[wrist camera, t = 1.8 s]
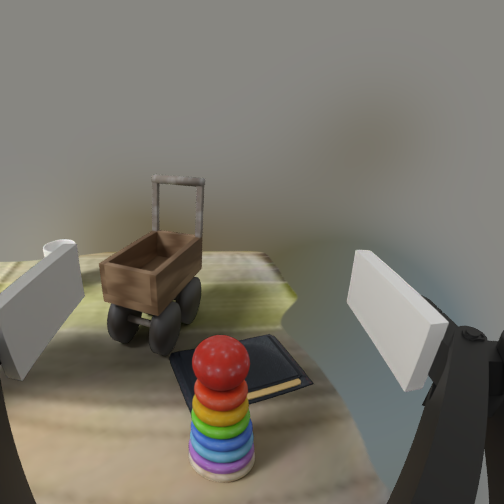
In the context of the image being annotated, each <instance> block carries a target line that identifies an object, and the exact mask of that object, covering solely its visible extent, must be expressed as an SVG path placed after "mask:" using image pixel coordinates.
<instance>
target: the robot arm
mask: <svg viewBox="0 0 504 504" xmlns="http://www.w3.org/2000/svg"><path fill="white" fill-rule="evenodd" d="M84 296H85V295H84V289H83V283H82V277H81V271H80V265H79V258H78V251H77V244H62V245H61V246H60V247H58V248H57V249H56V250H54V251H53V252H52V253H50V254H49V255H48V256H46V257H45V258H44V259H42V260H41V261H40V262H38V263H37V264H36V265H35V266H33V267H32V268H31V269H29V270H28V271H27V272H26V273H24V274H23V275H22V276H21V277H19V278H18V279H17V280H16V281H15V282H13V283H12V284H11V285H10V286H8V287H7V288H6V289H5V290H4V291H3V292H1V293H0V365H2V367H3V369H4V371H5V374H6V376H7V377H9V378H12V379H16V380H19V381H23V379H24V378H25V376H26V375H27V373H28V372H29V370H30V369H31V367H32V366H33V364H34V363H35V362H36V360H37V359H38V357H39V356H40V354H41V353H42V352H43V350H44V349H45V347H46V346H47V345H48V343H49V342H50V341H51V339H52V338H53V337H54V335H55V334H56V333H57V331H58V330H59V329H60V327H61V326H62V325H63V323H64V322H65V321H66V319H67V318H68V317H69V315H70V314H71V313H72V312H73V310H74V309H75V308H76V307H77V305H78V304H79V303H80V301H81V300H82V299H83V298H84ZM347 303H348V305H349V306H350V308H351V309H352V311H353V312H354V314H355V315H356V317H357V318H358V320H359V321H360V323H361V324H362V326H363V327H364V329H365V331H366V332H367V333H368V335H369V337H370V338H371V340H372V341H373V343H374V344H375V346H376V347H377V349H378V351H379V352H380V354H381V355H382V357H383V358H384V360H385V362H386V363H387V365H388V366H389V368H390V369H391V371H392V373H393V374H394V375H395V377H396V379H397V381H398V382H399V384H400V385H401V387H402V389H403V390H404V392H408V391H412V390H418V389H422V388H423V385H424V383H425V381H426V379H427V376H428V375H429V377H430V378H431V379H432V381H433V384H432V386H431V388H430V390H429V392H428V394H427V396H426V398H425V400H424V402H423V404H422V405H423V406H425V407H424V410H423V414H422V417H421V420H420V423H419V426H418V429H417V432H416V435H415V438H414V440H413V443H412V446H411V448H410V451H409V454H408V456H407V459H406V461H405V464H404V467H403V469H402V471H401V474H400V476H399V478H398V481H397V483H396V485H395V487H394V489H393V492H392V494H391V496H390V498H389V500H388V502H387V504H474V503H475V499H476V494H477V489H478V485H479V479H480V474H481V468H482V461H483V454H484V449H485V457H486V466H487V474H488V475H487V476H488V488H489V504H504V331H503V332H502V334H501V337H500V339H499V341H488V340H487V337H486V336H485V335H484V334H483V333H482V332H481V331H479V330H478V329H476V328H473V327H469V326H460V327H458V326H457V325H456V324H455V323H454V322H453V321H452V320H451V319H450V318H449V317H448V316H447V315H446V314H445V313H442V311H441V310H440V309H439V308H437V306H436V305H435V304H434V303H433V302H432V301H431V300H429V299H427V298H426V297H424V296H422V295H420V294H419V293H418V292H416V291H415V290H414V289H413V288H412V287H411V286H410V285H409V284H408V283H407V282H406V281H404V280H403V279H402V278H401V277H400V276H399V275H398V274H397V273H395V272H394V271H393V270H392V269H391V268H390V267H389V266H388V265H386V264H385V263H384V262H383V261H382V260H381V259H379V258H378V257H377V256H376V255H375V254H374V253H373V252H371V251H370V250H356V252H355V258H354V264H353V270H352V276H351V281H350V287H349V292H348V298H347ZM0 504H36V502H35V500H34V497H33V495H32V492H31V490H30V487H29V485H28V482H27V479H26V476H25V474H24V471H23V468H22V465H21V462H20V459H19V456H18V453H17V449H16V446H15V443H14V439H13V435H12V432H11V428H10V424H9V420H8V416H7V411H6V407H5V402H4V397H3V392H2V386H1V380H0Z"/></svg>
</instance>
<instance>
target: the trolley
mask: <svg viewBox="0 0 504 504" xmlns="http://www.w3.org/2000/svg"><path fill="white" fill-rule="evenodd" d="M159 183H161V184H173V185H184V186H195V187H197V196H196V229H195V235H191V234H184V233H177V232H170V231H162V230H159ZM204 185H205V179H204V178H196V177H184V176H183V177H182V176H169V175H155V174H154V175H153V176H152V231H151V232H150V233H148V234H146V235H144V236H143V237H141V238H140V239H138V240H136V241H134V242H133V243H131V244H130V245H128V246H127V247H125V248H123V249H121V250H120V251H118V252H117V253H115V254H113V255H112V256H110V257H109V258H107V259H105V260H104V261H102V262H101V263H99V267H100V276H101V283H102V291H103V297H104V301H105V302H108V303H111V306H110V309H109V312H108V318H107V327H108V332H109V334H110V336H111V338H112V339H114V340H116V341H119V342H122V343H127V342H129V341H130V340H131V339H132V338H133V337H134V336H135V334H136V332H137V330H138V328H139V325H143V326H147V327H150V329H149V344H150V348H151V350H152V351H153V352H154V353H157V354H161V355H168V354H169V353H170V352H171V351H172V349H173V348H174V346H175V344H176V342H177V339H178V336H179V332H180V326H181V322H182V323H186V324H190V323H191V322H192V321H193V320H194V318H195V316H196V314H197V311H198V308H199V304H200V299H201V282H200V279H199V278H198V277H194V276H195V275H196V274H197V273H198V272H199V271H200V270H201V269H202V230H203V203H204ZM172 300H176V302H172ZM142 313H146V314H150V315H153V317H152V320H148V319H144V318H141V316H142Z"/></svg>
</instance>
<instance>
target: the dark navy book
mask: <svg viewBox="0 0 504 504" xmlns="http://www.w3.org/2000/svg"><path fill="white" fill-rule="evenodd" d="M239 342H240V343H241V344H242V345H243V346H244V347H245V348H246V350H247V352H248V355H249V360H250V367H249V372H248V374H247V376H246V378H245V379H244V380H245V381H246V383H247V386H248V394H247V398H248V402H249V404H252V403H256V402H259V401H263V400H266V399H269V398H273V397H276V396H279V395H282V394H285V393H288V392H292V391H295V390H298V389H301V388H303V387H306V386H309V385H312V384H314V383H313V382H312V381H311V380H310V379H309V378H308V376H307V375H306V374H305V372H304V371H303V370H302V368H301V367H300V366H299V365H298V364H297V362H296V361H295V360H294V359H293V358H292V356H291V355H290V354H289V353H288V352H287V350H286V349H285V348H284V347H283V346H282V344H281V343H280V342H279V341H278V340H277V339H276V338H275V337H274V336H272V335H270V334H268V335H263V336H258V337H253V338H249V339H244V340H240V341H239ZM194 352H195V349H191V350H184V351H179V352H175V353H171V355H170V357H169V359H170V363H171V366H172V368H173V371H174V373H175V376H176V378H177V381H178V383H179V386H180V388H181V391H182V393H183V396H184V399H185V401H186V404H187V406H188V408H189V410H190V413H191V412H192V408H193V407H192V401H193V397H194V395H195V391H194V386H195V382H196V380H197V377H196V376H195V373H194V370H193V366H192V358H193V354H194Z"/></svg>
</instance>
